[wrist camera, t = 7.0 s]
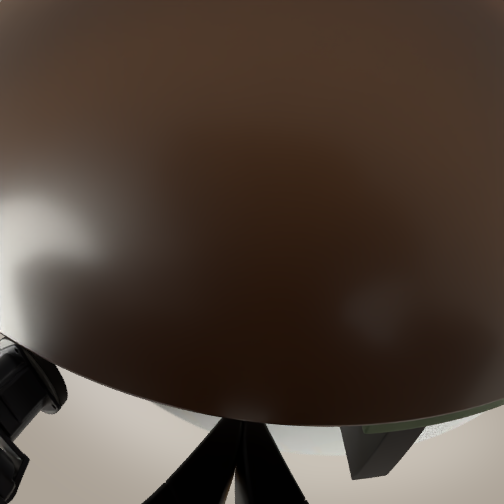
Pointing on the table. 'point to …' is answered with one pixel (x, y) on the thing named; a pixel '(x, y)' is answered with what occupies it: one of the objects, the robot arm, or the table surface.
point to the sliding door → (390, 441)
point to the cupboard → (258, 202)
